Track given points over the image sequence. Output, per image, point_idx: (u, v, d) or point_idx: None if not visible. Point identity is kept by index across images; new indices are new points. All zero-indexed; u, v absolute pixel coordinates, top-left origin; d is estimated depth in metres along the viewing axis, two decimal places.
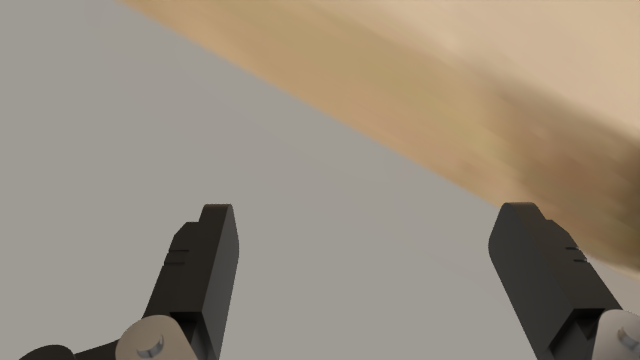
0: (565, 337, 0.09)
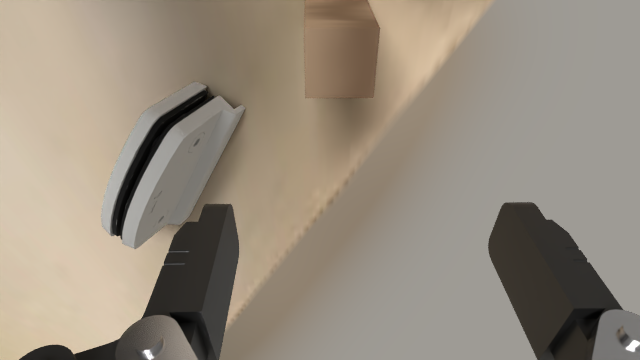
0: (565, 337, 0.09)
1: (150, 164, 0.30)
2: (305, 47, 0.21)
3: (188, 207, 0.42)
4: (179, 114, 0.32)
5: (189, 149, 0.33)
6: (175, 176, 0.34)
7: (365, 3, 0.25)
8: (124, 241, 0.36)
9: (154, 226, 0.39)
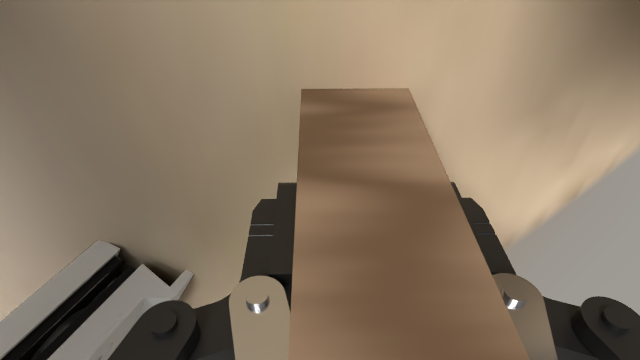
0: None
1: None
2: None
3: None
4: (52, 330, 0.17)
5: None
6: None
7: (457, 218, 0.09)
8: None
9: None
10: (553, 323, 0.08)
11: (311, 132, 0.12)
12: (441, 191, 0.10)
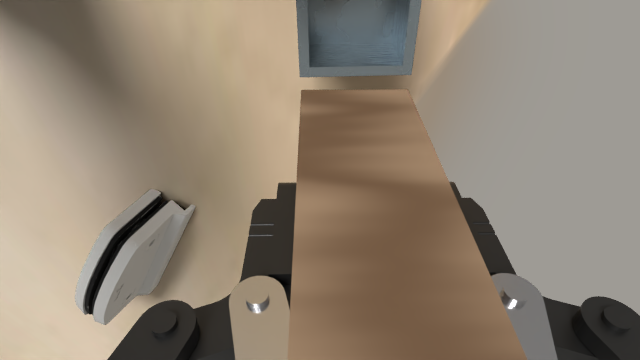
0: None
1: (110, 269, 0.37)
2: None
3: (154, 281, 0.49)
4: (135, 223, 0.39)
5: (145, 249, 0.40)
6: (135, 269, 0.41)
7: (456, 219, 0.09)
8: (96, 320, 0.43)
9: (122, 303, 0.46)
10: (553, 323, 0.08)
11: (311, 133, 0.12)
12: (440, 191, 0.10)
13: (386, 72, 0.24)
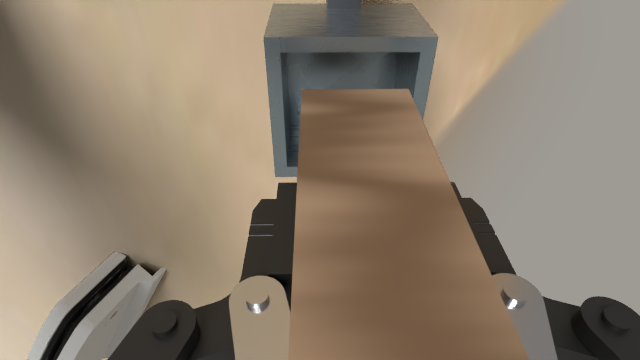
0: None
1: (62, 352, 0.32)
2: None
3: None
4: (93, 296, 0.34)
5: (105, 324, 0.35)
6: (95, 343, 0.36)
7: (457, 219, 0.09)
8: None
9: None
10: (553, 323, 0.08)
11: (312, 132, 0.12)
12: (441, 191, 0.10)
13: None
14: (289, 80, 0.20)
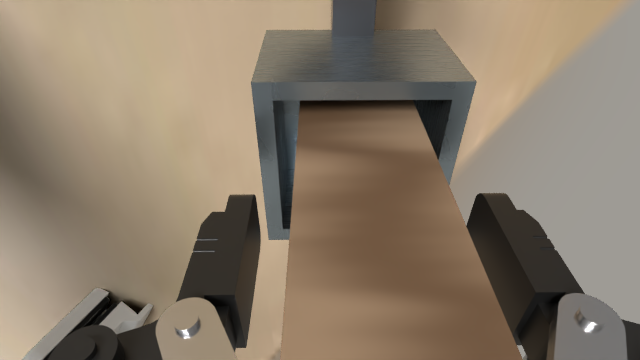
0: (529, 321, 0.09)
1: None
2: None
3: None
4: None
5: None
6: None
7: (438, 180, 0.10)
8: None
9: None
10: (632, 347, 0.08)
11: (310, 110, 0.13)
12: (425, 157, 0.11)
13: None
14: (286, 120, 0.17)
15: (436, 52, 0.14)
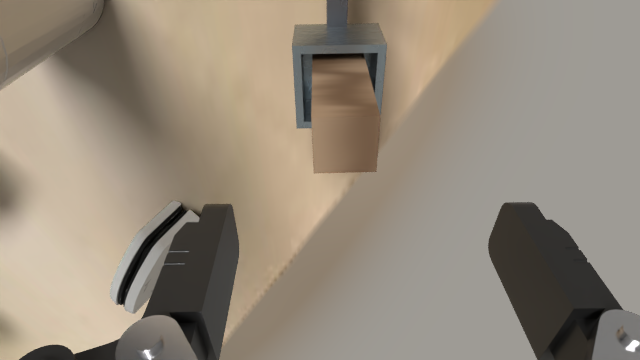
0: (565, 337, 0.09)
1: (141, 267, 0.46)
2: (313, 133, 0.23)
3: None
4: (161, 229, 0.47)
5: (168, 251, 0.48)
6: (160, 267, 0.50)
7: (367, 80, 0.27)
8: (126, 309, 0.52)
9: (147, 296, 0.54)
10: None
11: (317, 60, 0.30)
12: (364, 74, 0.27)
13: None
14: (304, 70, 0.33)
15: (374, 33, 0.30)
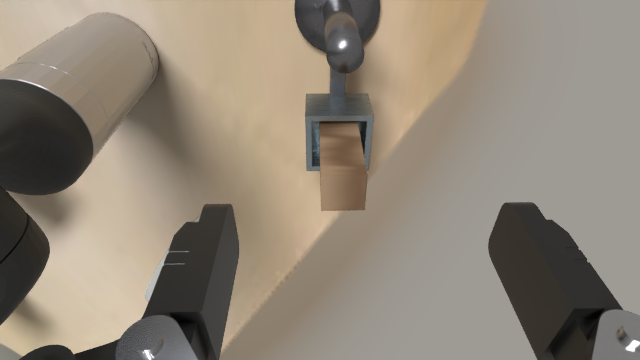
0: (565, 337, 0.09)
1: None
2: (321, 185, 0.34)
3: None
4: None
5: None
6: None
7: (359, 143, 0.37)
8: None
9: None
10: None
11: (323, 123, 0.41)
12: (357, 138, 0.38)
13: None
14: (312, 126, 0.44)
15: (365, 104, 0.41)
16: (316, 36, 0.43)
